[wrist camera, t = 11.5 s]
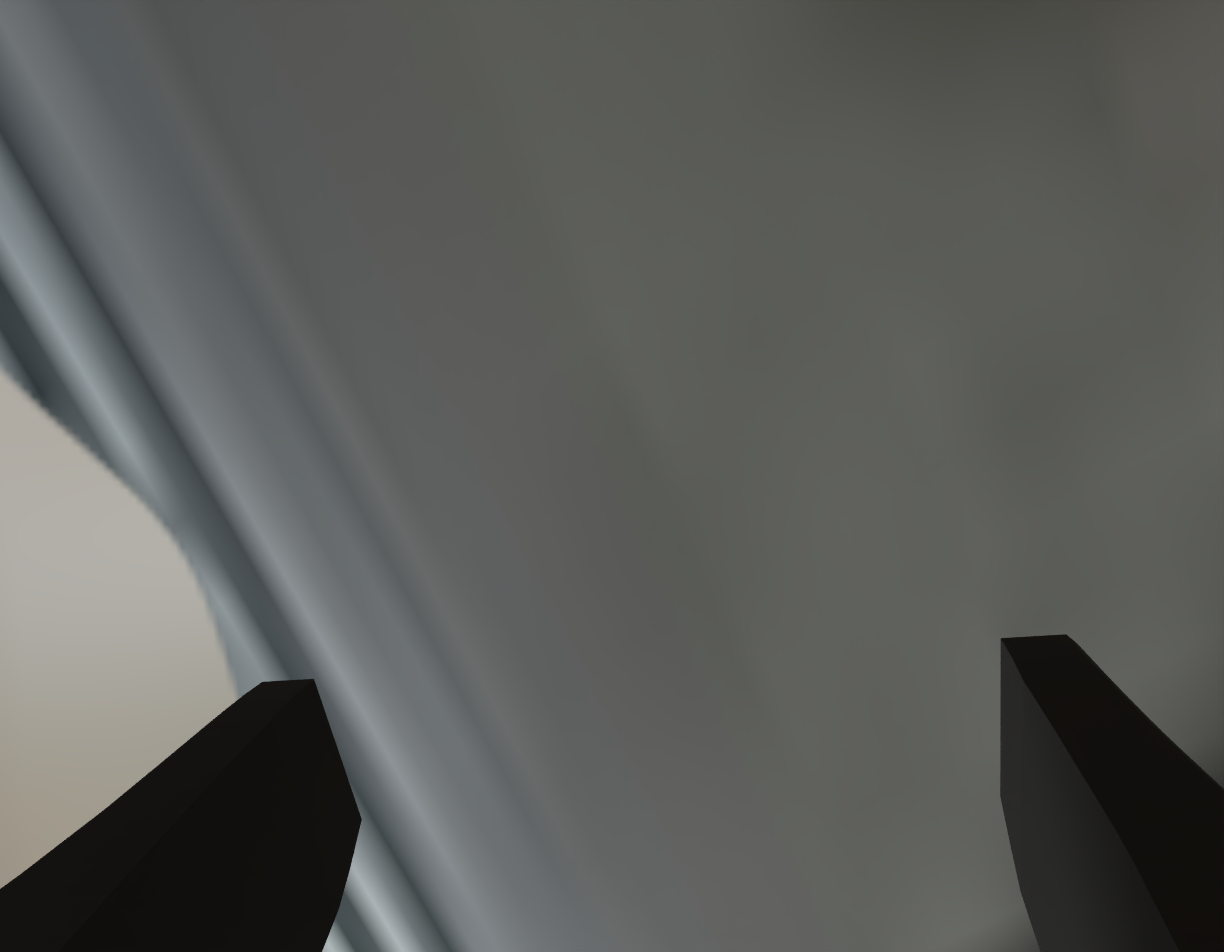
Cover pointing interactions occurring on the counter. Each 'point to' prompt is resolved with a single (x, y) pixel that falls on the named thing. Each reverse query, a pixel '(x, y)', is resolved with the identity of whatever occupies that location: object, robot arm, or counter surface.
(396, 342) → the counter surface
